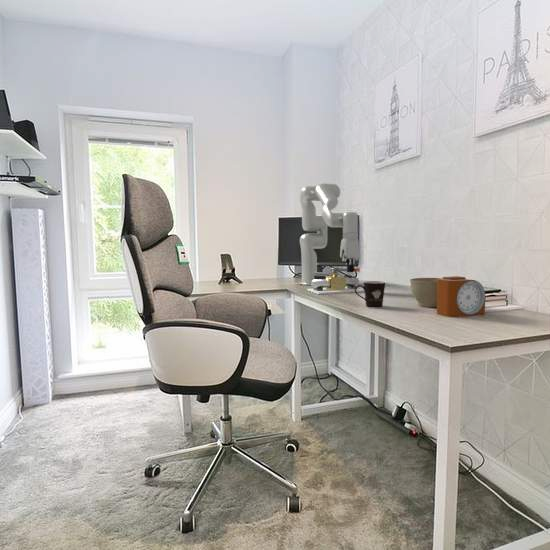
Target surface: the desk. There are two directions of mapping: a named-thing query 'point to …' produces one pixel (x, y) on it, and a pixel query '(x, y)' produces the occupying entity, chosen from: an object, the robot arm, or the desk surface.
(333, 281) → the valve pipe
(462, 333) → the desk surface
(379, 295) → the coffee mug
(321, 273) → the electrical switch
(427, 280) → the planter bowl
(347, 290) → the board
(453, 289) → the alarm clock
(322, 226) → the robot arm
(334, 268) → the valve lever
